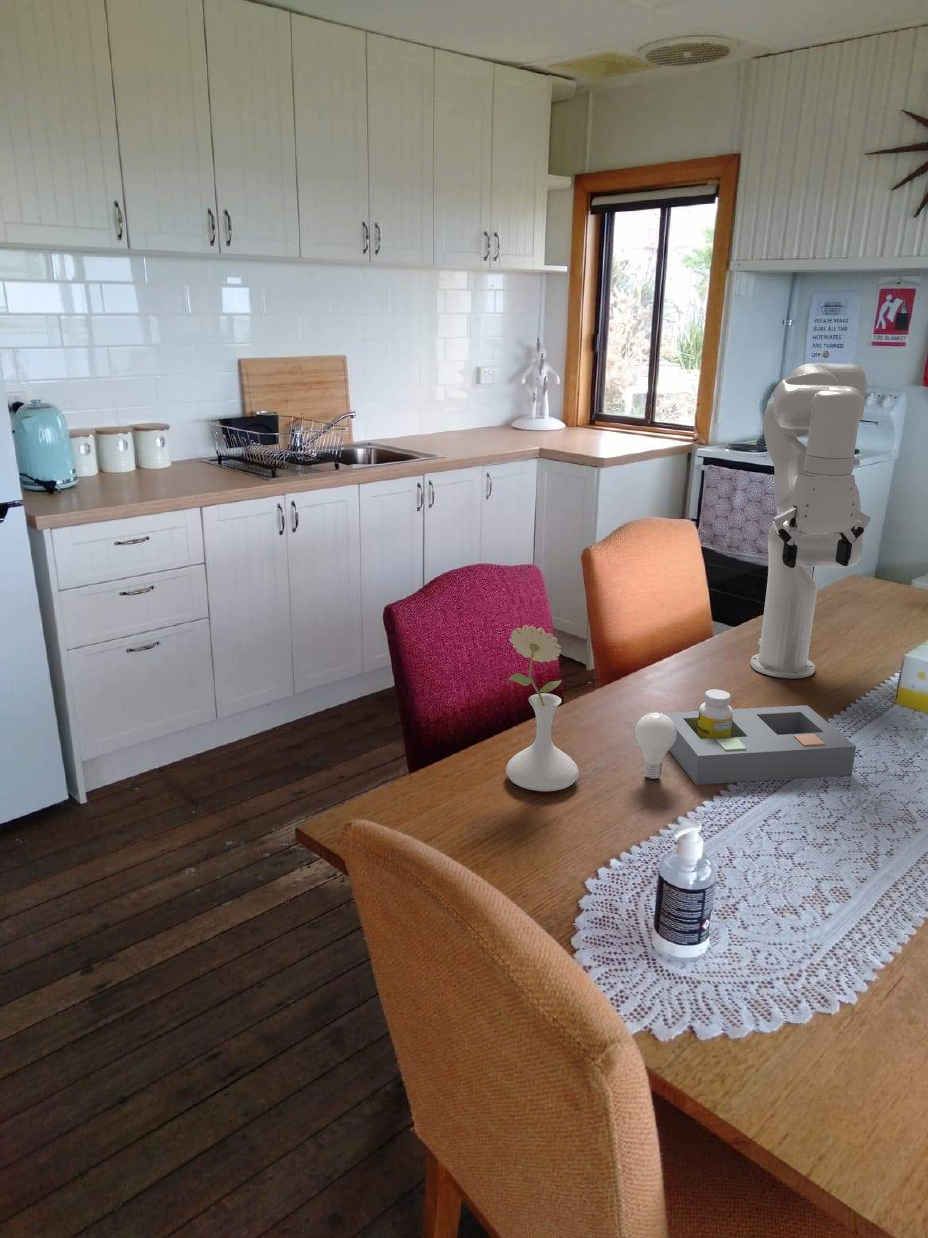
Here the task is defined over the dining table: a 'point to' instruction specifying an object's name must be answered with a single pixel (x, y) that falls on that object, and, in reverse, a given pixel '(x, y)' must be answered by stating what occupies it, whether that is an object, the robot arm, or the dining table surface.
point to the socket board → (763, 747)
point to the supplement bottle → (715, 715)
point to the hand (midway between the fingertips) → (815, 565)
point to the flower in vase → (540, 721)
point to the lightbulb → (655, 741)
